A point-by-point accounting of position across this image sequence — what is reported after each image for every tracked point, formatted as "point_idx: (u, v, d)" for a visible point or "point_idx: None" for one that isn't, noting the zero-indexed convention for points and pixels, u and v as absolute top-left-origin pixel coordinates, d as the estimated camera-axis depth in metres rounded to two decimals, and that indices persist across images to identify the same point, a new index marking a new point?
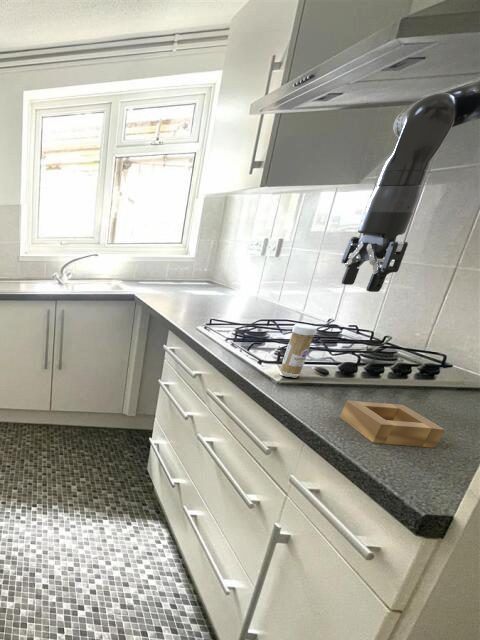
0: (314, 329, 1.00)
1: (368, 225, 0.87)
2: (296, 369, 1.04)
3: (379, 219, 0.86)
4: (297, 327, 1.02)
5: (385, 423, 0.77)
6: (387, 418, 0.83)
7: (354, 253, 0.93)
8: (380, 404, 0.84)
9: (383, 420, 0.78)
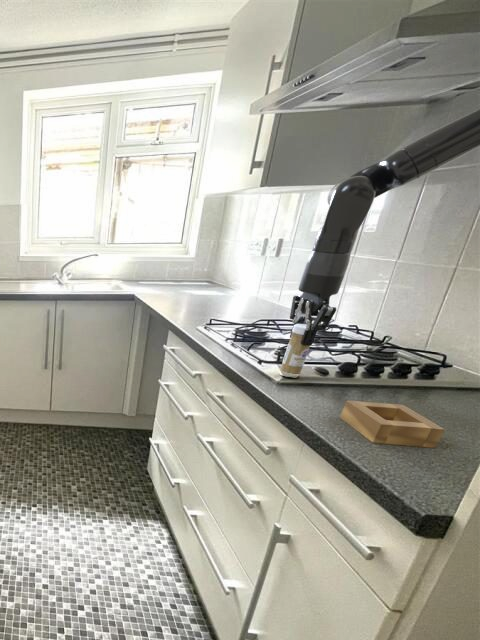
0: None
1: (306, 285, 0.97)
2: (296, 369, 1.04)
3: (314, 281, 0.96)
4: (297, 327, 1.02)
5: (385, 423, 0.77)
6: (387, 418, 0.83)
7: (297, 309, 1.03)
8: (380, 404, 0.84)
9: (383, 420, 0.78)
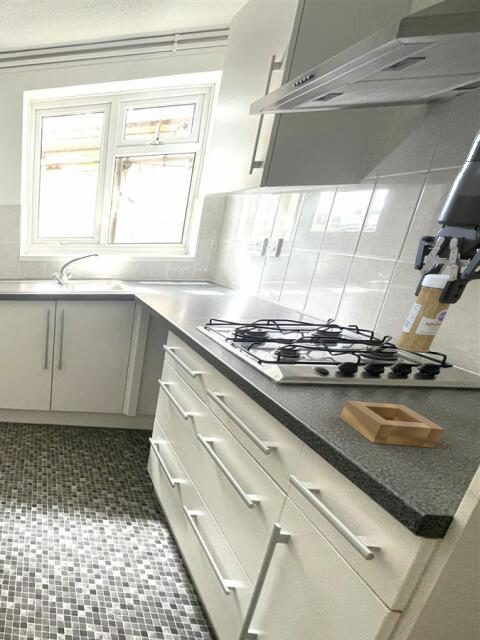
0: None
1: (455, 213, 0.67)
2: (426, 339, 0.74)
3: (472, 206, 0.65)
4: (433, 278, 0.71)
5: (385, 423, 0.77)
6: (387, 418, 0.83)
7: (432, 253, 0.72)
8: (380, 404, 0.84)
9: (383, 420, 0.78)
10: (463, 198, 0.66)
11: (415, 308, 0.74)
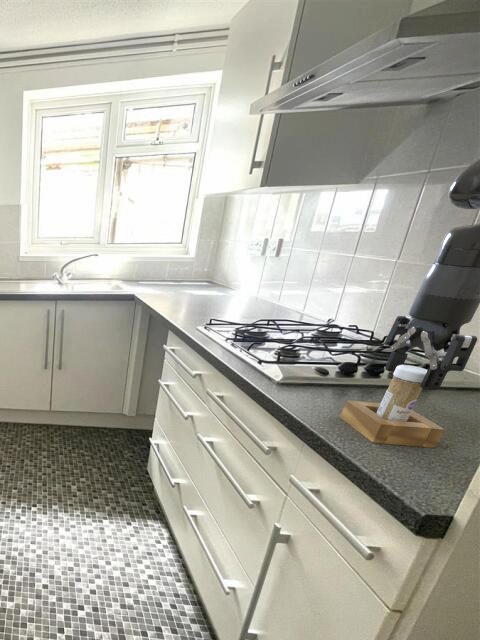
0: None
1: (425, 310, 0.71)
2: None
3: (439, 305, 0.69)
4: (403, 371, 0.76)
5: (385, 423, 0.77)
6: None
7: (403, 338, 0.77)
8: None
9: (383, 420, 0.78)
10: (432, 297, 0.70)
11: (387, 396, 0.79)
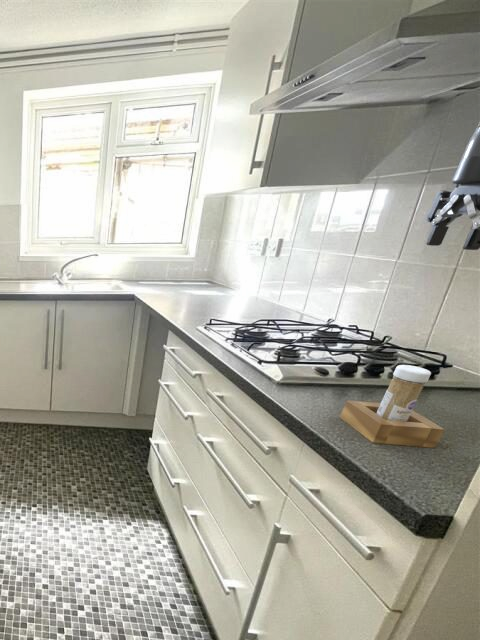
0: (428, 374, 0.74)
1: (469, 172, 0.76)
2: None
3: None
4: (403, 371, 0.76)
5: (385, 423, 0.77)
6: None
7: (445, 208, 0.82)
8: None
9: (383, 420, 0.78)
10: (476, 158, 0.75)
11: (387, 396, 0.79)
